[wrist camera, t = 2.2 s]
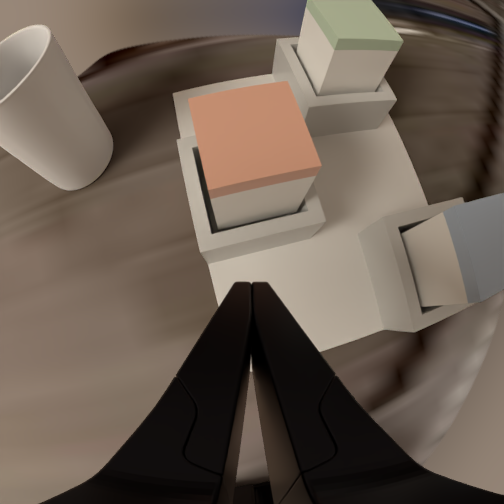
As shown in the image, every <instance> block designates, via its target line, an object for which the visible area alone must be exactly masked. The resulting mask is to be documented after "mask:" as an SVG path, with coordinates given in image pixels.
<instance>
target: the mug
mask: <svg viewBox="0 0 504 504" xmlns="http://www.w3.org/2000/svg"><path fill="white" fill-rule="evenodd" d="M0 146H1V147H2V148H4V149H5V150H6V151H8V152H9V153H11V154H12V155H13V156H15V157H16V158H17V159H19V160H20V161H22V162H23V163H24V164H26V165H27V166H28V167H30V168H31V169H33V170H34V171H35V172H37V173H38V174H39V175H41V176H42V177H44V178H45V179H47V180H48V181H50V182H51V183H53V184H54V185H56V186H57V187H59V188H61V189H64V190H78V189H81V188H84V187H86V186H88V185H89V184H91V183H92V182H94V181H95V180H96V179H97V178H98V177H99V176H100V175H101V174H102V173H103V171H104V170H105V169H106V167H107V165H108V163H109V161H110V159H111V156H112V152H113V139H112V136H111V133H110V131H109V130H108V128H107V126H106V125H105V123H104V121H103V119H102V118H101V116H100V114H99V113H98V111H97V109H96V108H95V106H94V104H93V103H92V101H91V99H90V98H89V96H88V94H87V93H86V91H85V89H84V88H83V86H82V84H81V82H80V81H79V79H78V77H77V75H76V74H75V72H74V70H73V68H72V67H71V65H70V63H69V61H68V59H67V58H66V56H65V54H64V52H63V51H62V49H61V47H60V45H59V44H58V42H57V40H56V39H55V37H54V35H53V34H52V32H51V30H50V28H49V27H48V26H45V25H40V24H39V25H32V26H28V27H25V28H23V29H21V30H19V31H17V32H15V33H13V34H12V35H10V36H8V37H7V38H6V39H4V40H3V41H1V42H0Z"/></svg>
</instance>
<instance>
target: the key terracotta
mask: <svg viewBox="0 0 504 504" xmlns="http://www.w3.org/2000/svg"><path fill="white" fill-rule="evenodd" d="M188 102H189V107H190V112H191V116H192V121H193V126H194V130H195V135H196V139H197V144H198V148H199V153H200V157H201V162H202V166H203V170H204V175H205V179H206V183H207V188H208V192H209V196H210V200H211V204H212V207H213V211H214V215H215V219H216V223H217V227H218V230H222V229H226V228H230V227H234V226H238V225H243V224H247V223H251V222H255V221H259V220H263V219H267V218H272V217H276V216H280V215H284V214H289V213H293V212H296V211H297V210H298V208H299V206H300V204H301V202H302V201H303V199H304V197H305V195H306V193H307V192H308V190H309V188H310V186H311V184H312V183H313V181H314V179H315V177H316V175H317V174H318V172H319V170H320V168H321V166H322V165H321V162H320V159H319V157H318V154H317V151H316V149H315V146H314V143H313V141H312V138H311V136H310V133H309V131H308V128H307V126H306V123H305V121H304V118H303V116H302V113H301V111H300V109H299V106H298V104H297V101H296V99H295V97H294V94H293V92H292V90H291V87H290V85H289V83H288V81H282V82H275V83H268V84H261V85H254V86H248V87H242V88H237V89H231V90H226V91H221V92H216V93H211V94H207V95H202V96H198V97H193V98H189V99H188Z"/></svg>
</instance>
